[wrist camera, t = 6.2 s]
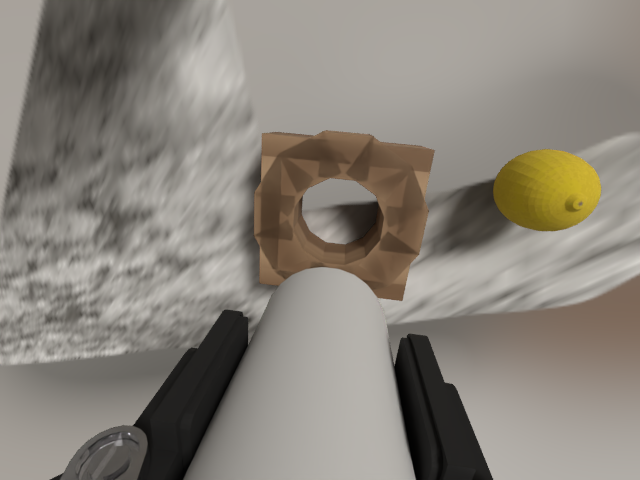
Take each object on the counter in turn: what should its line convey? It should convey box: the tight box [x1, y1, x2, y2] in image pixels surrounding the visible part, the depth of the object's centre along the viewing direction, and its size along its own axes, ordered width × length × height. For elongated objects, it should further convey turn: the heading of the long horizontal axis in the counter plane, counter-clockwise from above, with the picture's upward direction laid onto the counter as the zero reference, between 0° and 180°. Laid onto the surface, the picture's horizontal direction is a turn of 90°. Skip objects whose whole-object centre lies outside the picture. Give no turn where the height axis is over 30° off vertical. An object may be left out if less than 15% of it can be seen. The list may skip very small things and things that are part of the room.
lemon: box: [493, 149, 601, 231], centre depth 22 cm, size 6×6×8 cm
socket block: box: [254, 130, 434, 301], centre depth 25 cm, size 13×13×4 cm
